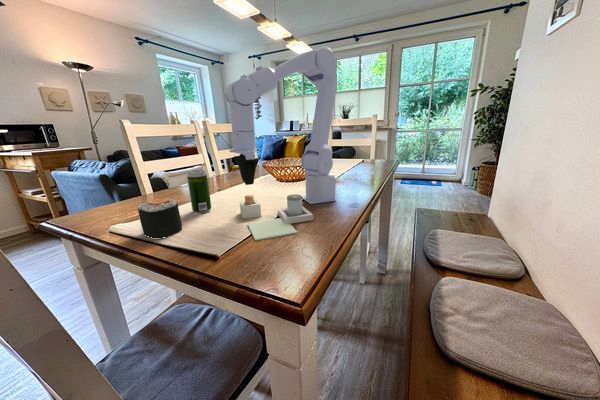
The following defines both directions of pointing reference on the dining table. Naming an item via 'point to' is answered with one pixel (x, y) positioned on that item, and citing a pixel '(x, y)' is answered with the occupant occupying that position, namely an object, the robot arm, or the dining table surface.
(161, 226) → the sushi
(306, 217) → the dock
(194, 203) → the beer can
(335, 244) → the dining table surface
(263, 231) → the mat
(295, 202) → the cylinder
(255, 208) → the button housing
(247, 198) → the release button
